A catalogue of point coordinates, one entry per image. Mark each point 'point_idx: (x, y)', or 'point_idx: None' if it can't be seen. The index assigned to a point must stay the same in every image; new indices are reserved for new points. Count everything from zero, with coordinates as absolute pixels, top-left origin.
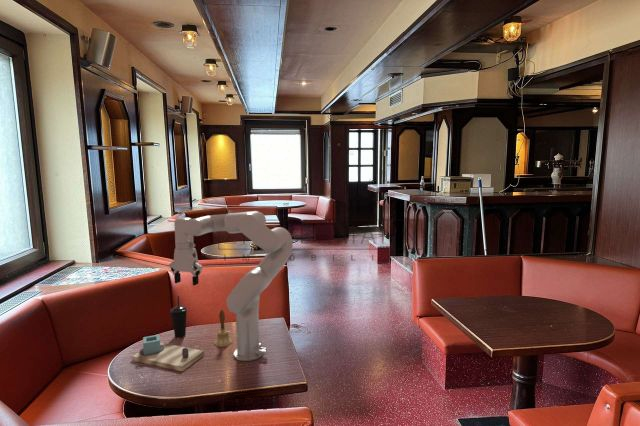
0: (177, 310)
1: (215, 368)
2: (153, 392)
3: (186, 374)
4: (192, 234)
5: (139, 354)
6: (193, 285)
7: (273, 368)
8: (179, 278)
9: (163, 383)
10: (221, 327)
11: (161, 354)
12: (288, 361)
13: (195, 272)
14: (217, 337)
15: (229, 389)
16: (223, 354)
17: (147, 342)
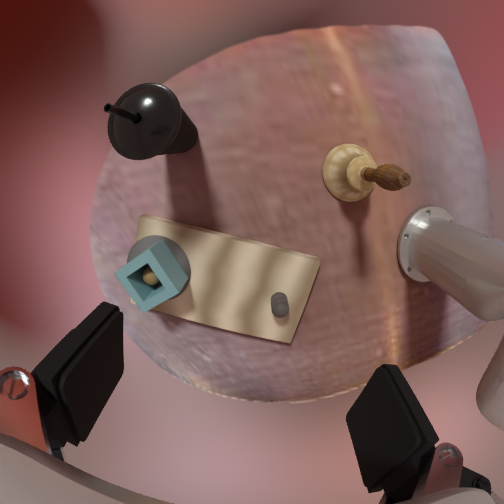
0: (146, 148)
1: (364, 316)
2: (263, 396)
3: (304, 345)
4: None
5: None
6: (352, 413)
7: None
8: (102, 353)
9: (268, 375)
10: (368, 180)
11: (200, 292)
12: None
13: (418, 490)
14: (340, 180)
15: None
16: (370, 248)
17: (150, 307)
